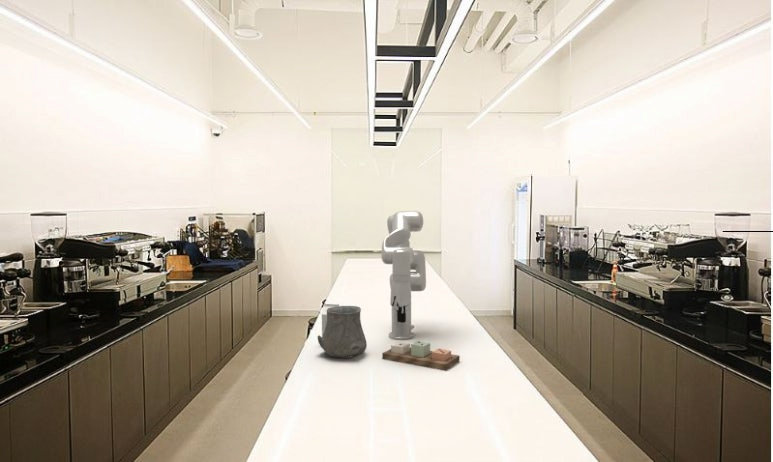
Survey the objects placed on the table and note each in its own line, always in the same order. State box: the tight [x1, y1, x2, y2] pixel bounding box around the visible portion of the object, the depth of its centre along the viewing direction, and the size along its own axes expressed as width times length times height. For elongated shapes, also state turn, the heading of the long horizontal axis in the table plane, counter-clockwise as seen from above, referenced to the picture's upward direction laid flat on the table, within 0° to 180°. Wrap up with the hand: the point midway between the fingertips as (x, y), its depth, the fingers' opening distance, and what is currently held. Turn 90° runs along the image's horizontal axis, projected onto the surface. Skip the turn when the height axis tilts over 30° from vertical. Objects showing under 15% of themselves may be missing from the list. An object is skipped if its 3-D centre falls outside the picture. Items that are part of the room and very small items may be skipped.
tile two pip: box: [410, 340, 431, 358], centre depth 208 cm, size 6×6×5 cm
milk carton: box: [321, 303, 340, 337], centre depth 230 cm, size 7×7×19 cm
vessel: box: [317, 305, 368, 359], centre depth 215 cm, size 22×22×20 cm
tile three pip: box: [432, 348, 452, 362], centre depth 203 cm, size 6×6×5 cm
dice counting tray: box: [381, 347, 461, 372], centre depth 208 cm, size 29×13×2 cm, turn 59°
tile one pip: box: [390, 341, 411, 354], centre depth 213 cm, size 6×6×5 cm
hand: (401, 321), depth 212 cm, fingers closed
